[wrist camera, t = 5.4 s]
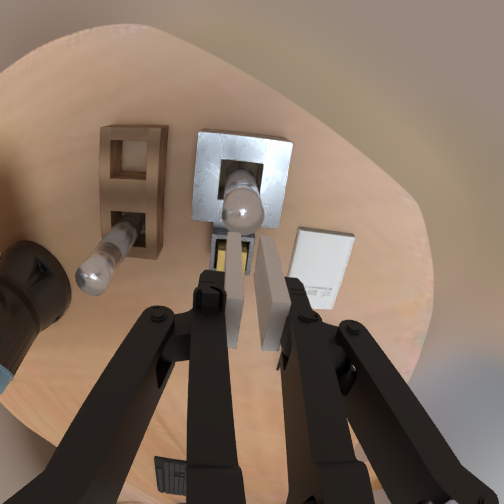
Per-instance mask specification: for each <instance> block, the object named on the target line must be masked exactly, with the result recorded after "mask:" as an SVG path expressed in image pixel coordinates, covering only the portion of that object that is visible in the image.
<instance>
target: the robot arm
mask: <svg viewBox="0 0 504 504" xmlns="http://www.w3.org/2000/svg"><path fill="white" fill-rule="evenodd" d="M254 283H255V292H256V301H257V311H258V320H259V330H260V339H261V348H262V350H265V351H278V350H279V347H280V343H281V347H282V352H281V355H280V358H279V362H278V365H277V369H276V370H279V368H280V369H281V382H282V395H283V408H284V422H285V437H286V452H287V467H288V484H289V493H288V497H287V502H286V504H375V502H374V497H373V492H372V487H371V482H370V478H369V473H368V470H367V467H366V465H365V464H364V462H362V461H358V460H357V459H356V457H355V453H354V449H353V444H352V439H351V435H350V430H349V426H348V421H349V423H350V425H351V427H352V429H353V431H354V433H355V435H356V437H357V439H358V441H359V443H360V444H361V446H362V448H363V450H364V452H365V454H366V456H367V458H368V460H369V462H370V464H371V466H372V468H373V470H374V472H375V473H376V475H377V477H378V479H379V481H380V483H381V485H382V487H383V489H384V491H385V492H386V495H387V497H388V499H389V500H390V502H391V504H499V501H498V498H497V495H496V494H495V493H494V491H493V490H491V489H490V488H489V487H488V486H486V485H485V484H484V483H483V482H482V481H480V480H479V479H478V478H477V477H475V476H474V475H473V474H472V473H471V472H469V471H468V470H467V469H466V468H464V467H463V466H462V465H461V464H460V462H459V460H458V459H457V457H456V456H455V454H454V453H453V451H452V450H451V448H450V447H449V445H448V444H447V442H446V441H445V439H444V437H443V436H442V435H441V433H440V432H439V430H438V428H437V427H436V426H435V424H434V423H433V421H432V420H431V418H430V417H429V415H428V414H427V412H426V411H425V409H424V408H423V407H422V405H421V404H420V402H419V401H418V399H417V398H416V396H415V395H414V394H413V392H412V391H411V389H410V388H409V386H408V385H407V384H406V382H405V381H404V379H403V378H402V377H401V375H400V374H399V372H398V371H397V370H396V368H395V367H394V365H393V364H392V363H391V361H390V360H389V359H388V357H387V356H386V354H385V353H384V352H383V350H382V349H381V348H380V346H379V345H378V344H377V342H376V341H375V340H374V338H373V337H372V336H371V334H370V333H369V331H368V330H367V329H366V328H365V327H364V326H363V325H362V324H361V323H359V322H357V321H354V320H344V321H342V322H341V323H340V324H339V327H337V326H333V325H329V324H326V323H324V322H322V318H321V317H320V315H319V314H318V313H317V312H315V311H313V310H312V308H311V305H310V302H309V299H308V296H307V293H306V291H305V288H304V285H303V283H302V282H301V281H300V280H299V279H298V278H293V277H284V274H283V270H282V267H281V263H280V259H279V256H278V252H277V248H276V245H275V241H274V237H272V236H263V235H260V241H259V247H258V253H257V259H256V265H255V271H254ZM70 300H71V289H70V284H69V281H68V278H67V276H66V274H65V272H64V270H63V268H62V267H61V265H60V264H59V262H58V261H57V260H56V259H55V257H54V256H53V255H52V254H51V253H49V252H48V251H47V250H46V249H44V248H43V247H41V246H40V245H38V244H36V243H33V242H29V241H19V242H16V243H14V244H13V245H11V246H10V247H9V248H8V249H7V250H5V251H4V253H3V254H2V255H1V257H0V395H1V394H2V393H3V392H4V390H5V389H6V387H7V385H8V384H9V382H10V381H12V380H13V378H14V375H15V373H16V371H17V369H18V368H19V366H20V364H21V362H22V361H23V359H24V357H25V355H26V354H27V352H28V350H29V349H30V347H31V345H32V343H33V342H34V340H35V338H36V337H37V335H38V334H39V332H41V331H43V330H44V329H46V328H47V327H49V326H50V325H51V324H53V323H55V322H56V321H58V320H59V319H60V318H61V317H62V316H63V315H64V313H65V311H66V310H67V308H68V307H69V304H70ZM243 303H244V289H243V268H242V246H241V233H236V232H228V234H227V243H226V251H225V260H224V269H223V271H214V270H204V271H203V272H202V273H201V274H200V278H199V284H198V287H197V288H195V290H194V294H193V308H192V309H191V310H189V311H188V312H185V313H180V314H174V312H173V311H172V310H171V309H170V308H167V307H165V306H158V305H157V306H151V307H149V308H147V309H145V310H144V311H143V312H142V314H141V315H140V317H139V318H138V320H137V321H136V323H135V324H134V326H133V327H132V329H131V330H130V332H129V333H128V335H127V336H126V338H125V339H124V341H123V342H122V344H121V345H120V347H119V348H118V350H117V351H116V353H115V354H114V356H113V357H112V359H111V360H110V362H109V363H108V365H107V367H106V368H105V370H104V371H103V373H102V374H101V376H100V377H99V379H98V381H97V382H96V384H95V385H94V387H93V389H92V390H91V392H90V393H89V395H88V397H87V398H86V400H85V402H84V403H83V405H82V406H81V408H80V410H79V411H78V413H77V415H76V416H75V418H74V420H73V421H72V423H71V425H70V426H69V428H68V430H67V432H66V433H65V435H64V437H63V438H62V440H61V442H60V444H59V445H58V447H57V449H56V451H55V452H54V454H53V456H52V458H51V460H50V461H49V463H48V465H47V467H46V469H45V470H44V471H43V472H42V473H41V474H39V475H38V476H37V477H36V478H35V479H33V480H32V481H31V482H30V483H28V484H27V485H26V486H24V487H23V488H22V489H21V490H19V491H18V492H17V493H16V494H14V495H13V496H12V497H11V498H9V499H8V500H7V501H5V502H4V503H3V504H116V502H117V499H118V497H119V495H120V492H121V490H122V487H123V485H124V482H125V480H126V477H127V475H128V473H129V470H130V468H131V465H132V463H133V460H134V458H135V456H136V453H137V451H138V449H139V446H140V444H141V441H142V439H143V437H144V434H145V432H146V430H147V427H148V425H149V423H150V420H151V418H152V416H153V413H154V411H155V409H156V406H157V404H158V402H159V399H160V397H161V395H162V393H163V390H164V388H165V386H166V383H167V381H168V379H169V377H170V374H171V372H172V370H173V368H174V365H175V362H178V361H185V360H189V381H188V408H187V465H186V504H246V500H245V492H244V483H243V476H242V471H241V468H240V467H239V465H238V459H237V450H236V440H235V429H234V419H233V408H232V396H231V385H230V372H229V360H228V348H235V349H236V347H237V341H238V334H239V328H240V322H241V315H242V309H243ZM352 365H353V366H354V367H355V369H356V370H355V369H354V367H353V366H352ZM347 419H348V421H347Z"/></svg>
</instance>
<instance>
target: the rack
mask: <svg viewBox="0 0 504 504" xmlns="http://www.w3.org/2000/svg"><path fill="white" fill-rule="evenodd" d="M167 138H168V126H160V125H110V126H105V127H100V157H99V182H100V213H101V230H102V239H103V238H104V237H105V236H106V235H107V234H108V232H109V231H110V230H111V229H112V228H113V227H114V226H115V224H116V223H117V222H118V221H119V220H120V219H121V211H124V212H138V213H146V234H140V235H139V237H138V238H137V240H136V241H135V243H134V244H133V246H132V247H131V249H130V250H129V252H128V253H127V255H126V257H135V258H145V259H155V260H157V258H158V256H159V253H160V251H161V249H162V247H163V211H164V185H165V166H166V151H167ZM122 140H137V141H148V149H147V170H146V172H127V171H121V153H122Z"/></svg>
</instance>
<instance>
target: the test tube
mask: <svg viewBox="0 0 504 504" xmlns="http://www.w3.org/2000/svg"><path fill="white" fill-rule="evenodd" d="M145 226H146V213H138V212H126V213H125V214H124V215H123V217H122V218H121V219H120V220H119V221H118V222H117V223H116V224H115V226H114V227H113V228H112V229H111V230H110V231H109V232H108V234H107V235H106V236H105V237H104V238H103V239H102V240H101V242H100V243H99V244H98V245H97V246H96V248H95V249H94V250H93V251H92V252H91V254H90V255H89V256H88V257H87V258H86V260H85V261H84V262H83V263H82V265H81V266H80V267H79V268H78V270H77V271H76V275H75V278H76V282H77V284H78V286H79V287H80V289H81V290H82V291H84V292H85V293H87V294H89V295H92V296H98V295H101V294H102V293H103V292H104V291H105V289H106V288H107V286H108V284H109V283H110V281H111V279H112V278H113V276H114V274H115V273H116V271H117V269H118V268H119V266H120V265H121V263H122V261H123V260H124V258H125V257H126V255H127V253H128V252H129V250H130V249H131V247H132V246H133V244H134V243H135V241H136V240H137V238H138V237H139V235H140V233H141V232H142V230H143V229H144V228H145Z"/></svg>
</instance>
